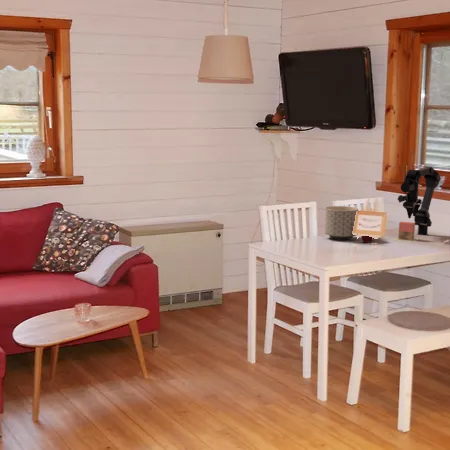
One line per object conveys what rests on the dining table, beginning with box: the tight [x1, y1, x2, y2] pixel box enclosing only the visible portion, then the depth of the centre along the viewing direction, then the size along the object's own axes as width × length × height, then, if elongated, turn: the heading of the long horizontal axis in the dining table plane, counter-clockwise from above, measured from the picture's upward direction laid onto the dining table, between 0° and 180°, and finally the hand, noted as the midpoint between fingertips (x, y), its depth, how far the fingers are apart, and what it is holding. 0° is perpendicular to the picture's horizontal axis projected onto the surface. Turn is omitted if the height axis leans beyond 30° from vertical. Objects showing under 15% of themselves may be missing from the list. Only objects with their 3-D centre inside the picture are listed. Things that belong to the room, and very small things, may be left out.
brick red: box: [398, 221, 416, 233], centre depth 438 cm, size 8×4×5 cm, turn 58°
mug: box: [361, 236, 373, 244], centre depth 433 cm, size 10×8×10 cm
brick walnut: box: [397, 230, 415, 241], centre depth 439 cm, size 8×4×5 cm, turn 60°
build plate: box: [393, 236, 420, 243], centre depth 439 cm, size 12×12×1 cm
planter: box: [324, 205, 359, 241], centre depth 443 cm, size 19×19×18 cm
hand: (411, 217), depth 445 cm, fingers open, 9 cm apart
